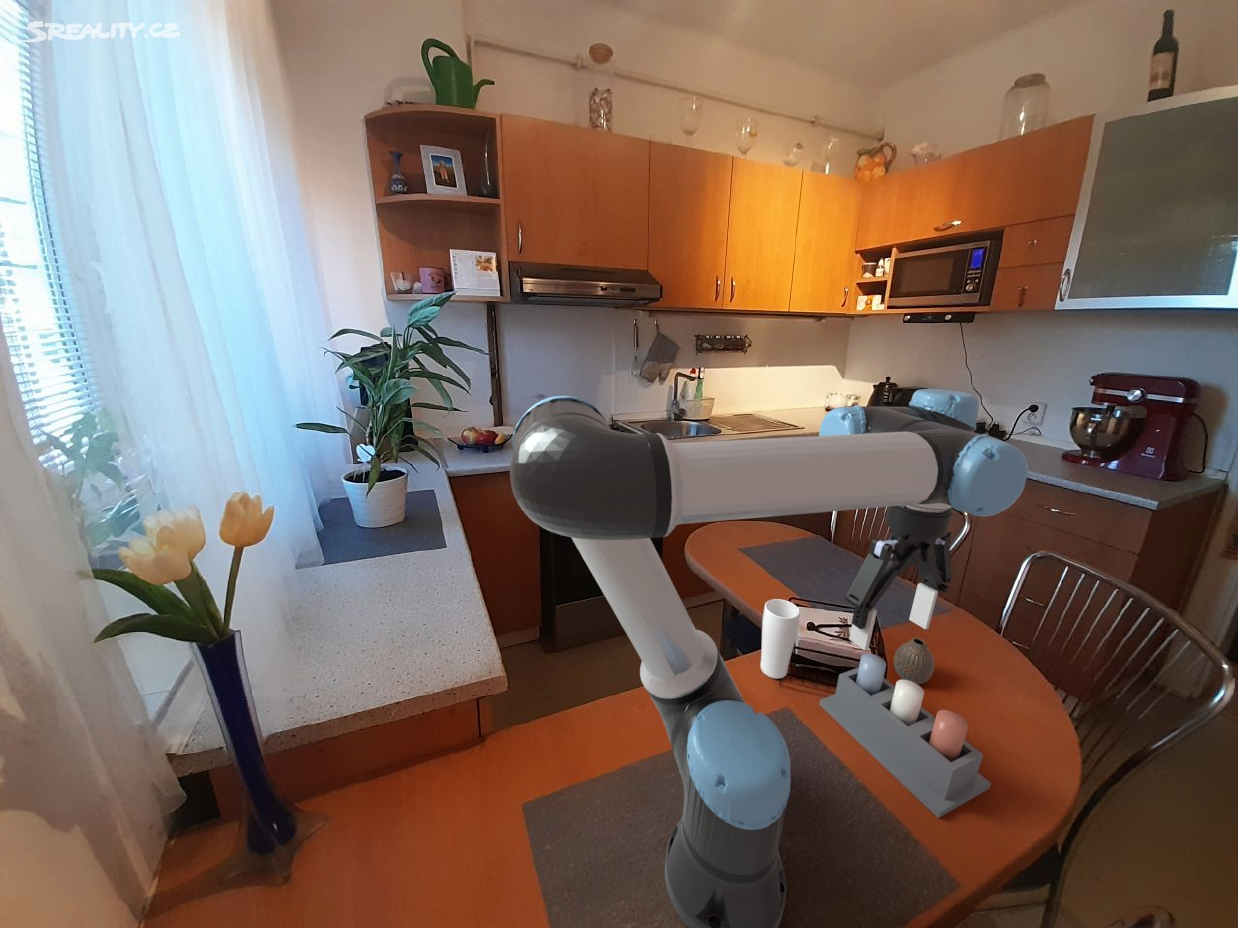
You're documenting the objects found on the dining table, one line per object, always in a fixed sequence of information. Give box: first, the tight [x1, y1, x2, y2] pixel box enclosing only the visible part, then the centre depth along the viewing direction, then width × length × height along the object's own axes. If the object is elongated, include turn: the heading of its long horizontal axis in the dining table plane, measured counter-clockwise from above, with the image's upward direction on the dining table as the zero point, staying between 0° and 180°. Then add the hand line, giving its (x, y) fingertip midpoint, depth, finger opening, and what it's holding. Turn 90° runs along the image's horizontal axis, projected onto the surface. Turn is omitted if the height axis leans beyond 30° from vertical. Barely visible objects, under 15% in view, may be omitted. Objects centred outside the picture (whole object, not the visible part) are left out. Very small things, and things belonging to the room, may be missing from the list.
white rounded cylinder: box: [890, 679, 925, 726], centre depth 80 cm, size 4×4×7 cm
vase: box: [893, 637, 935, 685], centre depth 96 cm, size 7×7×9 cm
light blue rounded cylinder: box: [856, 653, 887, 696], centre depth 86 cm, size 4×4×7 cm
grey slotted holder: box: [819, 667, 992, 819], centre depth 82 cm, size 12×23×7 cm, turn 23°
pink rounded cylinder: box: [929, 709, 969, 762], centre depth 74 cm, size 4×4×7 cm
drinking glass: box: [759, 598, 801, 680], centre depth 96 cm, size 7×7×15 cm
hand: (889, 633), depth 73 cm, fingers open, 12 cm apart
